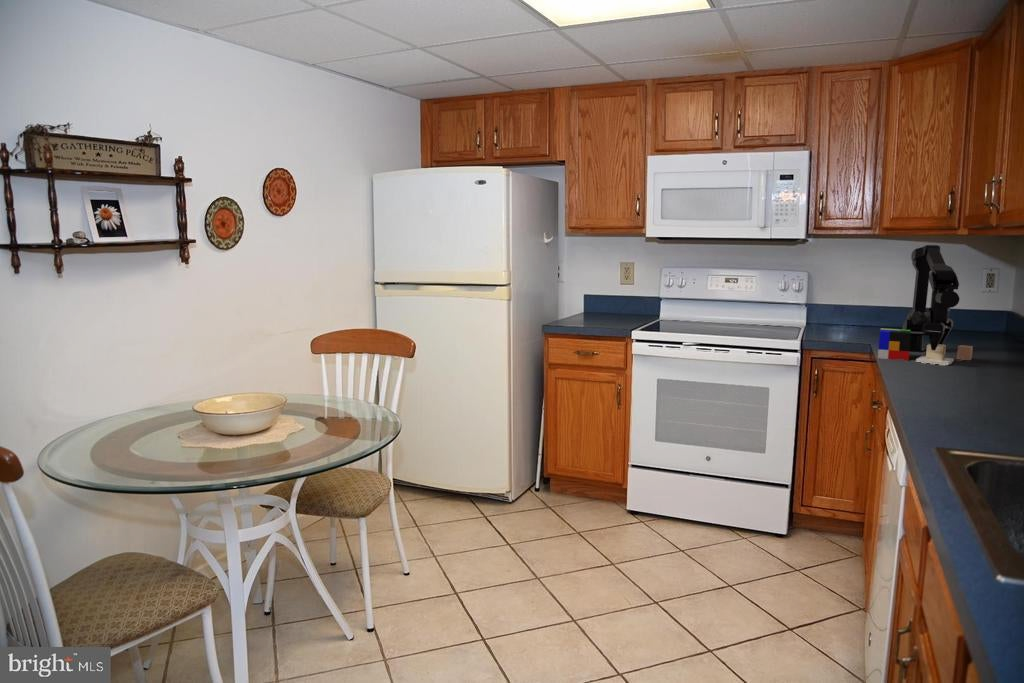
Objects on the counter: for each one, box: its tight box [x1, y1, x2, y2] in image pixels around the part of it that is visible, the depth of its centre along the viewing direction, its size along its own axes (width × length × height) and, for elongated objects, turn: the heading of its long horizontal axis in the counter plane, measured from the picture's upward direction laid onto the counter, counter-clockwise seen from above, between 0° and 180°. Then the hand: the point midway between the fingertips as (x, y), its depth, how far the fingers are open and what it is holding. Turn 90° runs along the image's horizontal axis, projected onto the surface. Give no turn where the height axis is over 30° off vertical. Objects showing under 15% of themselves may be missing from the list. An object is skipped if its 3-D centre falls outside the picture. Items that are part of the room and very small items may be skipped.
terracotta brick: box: [956, 344, 974, 361], centre depth 264 cm, size 4×4×5 cm
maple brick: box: [925, 343, 947, 361], centre depth 258 cm, size 5×5×5 cm
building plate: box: [915, 355, 955, 366], centre depth 259 cm, size 10×10×1 cm
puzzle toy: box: [877, 328, 912, 361], centre depth 269 cm, size 10×10×10 cm
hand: (936, 348), depth 258 cm, fingers open, 9 cm apart
